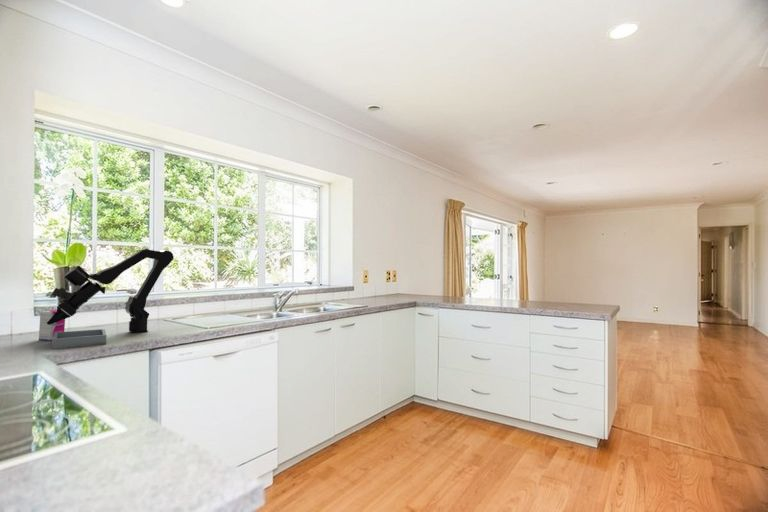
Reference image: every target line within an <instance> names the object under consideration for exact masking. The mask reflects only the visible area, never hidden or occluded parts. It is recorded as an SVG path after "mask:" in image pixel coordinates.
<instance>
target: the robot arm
mask: <svg viewBox="0 0 768 512" xmlns="http://www.w3.org/2000/svg"><path fill="white" fill-rule="evenodd" d="M146 258H147V259H151V260H153V265H152V266H151V267H152V268H151V269H150V271H149V272H148V274H147V276H146V278H145V279H144V281H143V283H142V284H141V286H140V288H139V290H138V291H137V293H136V294H135V295H134V296H129V297H128V299H127V301H126V302H125V303H124V305H125V307H124V309H125V312H126V313H127V314H129V317H130V320H129V321H128V331H129V333H131V334H133V333H137V334H138V333H147V332H149V330H148V319H149V316H150V313H149V312H148V311H146V309H145V307H146V304H147V298H148V297H149V295H150V293H151V291H152V290H153V287H154V286H155V284H156V282H158V279H159V278H160V275H161V274H162V272H163V271H164V270H165V269H166V268H167V267H168V266H170V264H171V263H172V262H173V260H174V254H173V252H171V250H152V249H148V248H142V249H140V250H138V251H137V252H135V253H134V254H132V255H130V256H129V257H127V258H125V259H124V260H122V261H120V262H119V263H117V264H115V265H113V266H110V267H106V268H105V269H104V268H103V269H102V270H101V269H100V270H99V271H97V272H96V273H90V274H89V273H88V272H87V271H85V270H84V269H83V268H82V267H81V266H80V265H77V266H76V267H73V268H72V269H71V270H68V271H67V272H66V273H65V274H64V275H63V276H62V277H63V279H65V281H67V282H69V283H70V284H71V285H72V286H73V287H77V286H79V288H78V289H76V290H74V291H72V292H71V291H69V290H67V289H66V288H64V287H56V286H55V288H54V290H53V291H52V293H51V294H50V295H51V296H54V297H57V298H58V297H59V298H61V300H60V301H59V303H58V305H57V306H56V310H57V312H56V313H55V314H54V315H53V316H52V318H51V319H50V320H49V321H48V322H47V324H48V325H50V324H53V323H55V322H58V321H61V320H63V319H65V320H66V319H68V318H71V317H73V316H74V315H76V314H77V310H78V309H80V308H81V307H83V305H84V304H85V303H87V302H89V300H90V299H91V298H93V297H95V295H96V294H98V293H99V292H101V294H106V288H107V287H106V286H102V285H109V284H112V283H113V282H114V281H116V279H118V277H119V276H120V275H121V274H122V273H123V272H126V271H127V270H128V269H130V268H132V267H134V266H135V265H137V264H139V263H140V262H142V261H143V260H145V259H146ZM91 280H92V281H95V282H92V281H91ZM100 284H102V285H100Z"/></svg>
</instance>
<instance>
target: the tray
mask: <svg viewBox="0 0 768 512" xmlns="http://www.w3.org/2000/svg"><path fill="white" fill-rule="evenodd" d="M107 337H108V336H107V332H106V329H105V328H100V329H99V328H98V329H88V330H87V329H85V330H70V331H69V330H67V331H64V332H55V333H54V336H53V339H52V341H51V349H52V350H57V348H58V349H67V347H69V348H77V347H78V346H81V347H89V346H90V347H91V346H99V345H107ZM78 348H79V347H78Z"/></svg>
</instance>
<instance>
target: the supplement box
mask: <svg viewBox="0 0 768 512" xmlns="http://www.w3.org/2000/svg"><path fill="white" fill-rule="evenodd" d="M56 312H57V309H52V310H41V311H40V312H39V313H40V314H39V315H40V316H39V330H38V341H43V342H52V339H53V336H54V333H55V332H65V327H66V326H65V325H66V319H63V320H61V321H58V322H55V323H53V324H50V325H48V324H47V322H48V321H49V320H50V319H51V318H52V316H53V315H54V314H55V313H56Z"/></svg>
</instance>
